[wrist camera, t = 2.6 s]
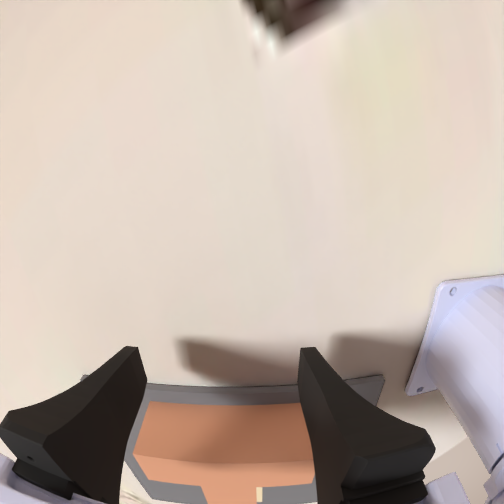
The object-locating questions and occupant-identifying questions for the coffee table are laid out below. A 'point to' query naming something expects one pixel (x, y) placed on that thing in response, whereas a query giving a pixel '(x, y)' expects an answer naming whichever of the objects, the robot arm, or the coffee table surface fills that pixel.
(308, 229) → the coffee table surface
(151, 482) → the charcoal mat
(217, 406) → the rust T block
